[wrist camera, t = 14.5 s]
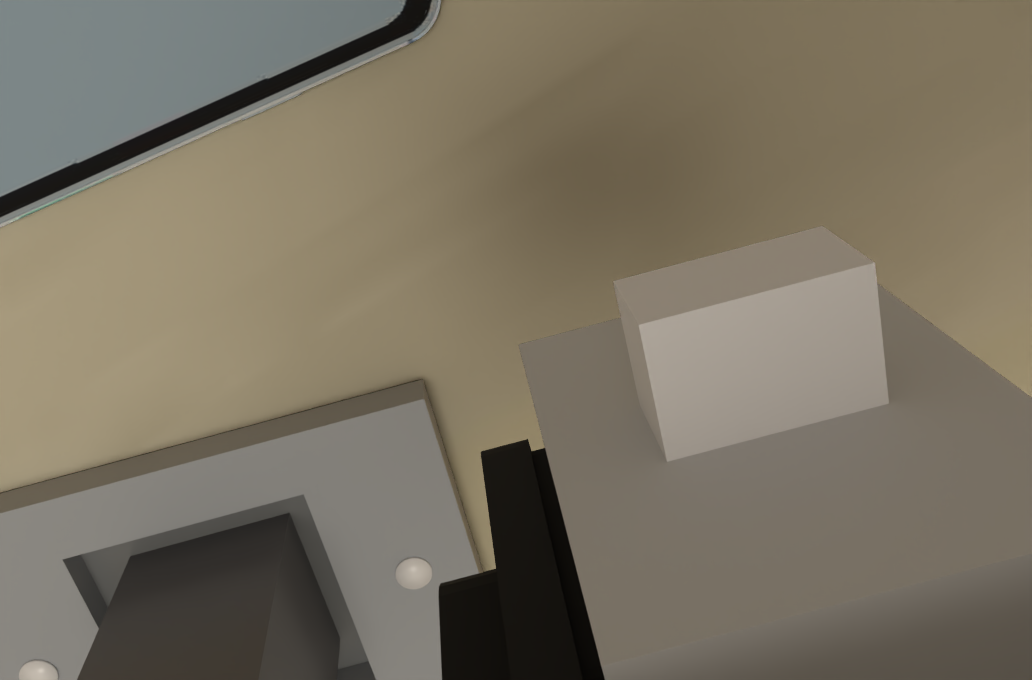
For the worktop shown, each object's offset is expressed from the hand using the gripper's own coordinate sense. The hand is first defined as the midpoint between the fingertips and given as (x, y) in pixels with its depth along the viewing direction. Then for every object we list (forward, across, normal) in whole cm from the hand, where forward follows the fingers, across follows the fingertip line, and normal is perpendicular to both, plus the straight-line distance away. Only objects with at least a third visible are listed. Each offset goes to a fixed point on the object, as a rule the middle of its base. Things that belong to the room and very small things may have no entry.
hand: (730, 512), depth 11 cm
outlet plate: (+15, +12, +9) cm, 21 cm away
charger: (+14, +11, +9) cm, 20 cm away
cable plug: (+1, 0, 0) cm, 1 cm away
